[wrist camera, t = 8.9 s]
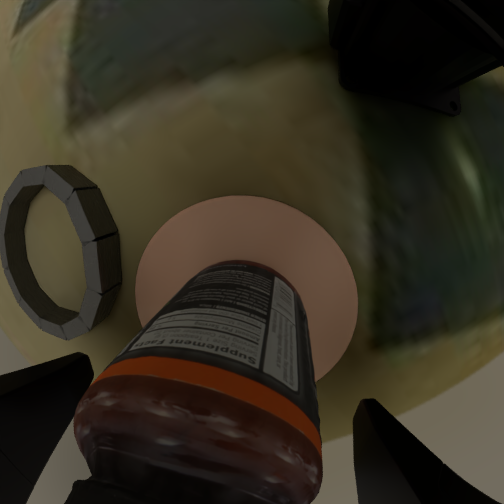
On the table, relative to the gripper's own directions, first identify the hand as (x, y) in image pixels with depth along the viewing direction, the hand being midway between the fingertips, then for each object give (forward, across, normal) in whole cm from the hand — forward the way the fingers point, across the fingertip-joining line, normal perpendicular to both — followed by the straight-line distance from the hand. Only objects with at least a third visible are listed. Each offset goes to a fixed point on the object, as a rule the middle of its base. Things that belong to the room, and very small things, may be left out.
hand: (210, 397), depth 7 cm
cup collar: (+6, +12, -2) cm, 14 cm away
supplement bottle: (+6, 0, 0) cm, 6 cm away
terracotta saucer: (+6, 0, 0) cm, 6 cm away
